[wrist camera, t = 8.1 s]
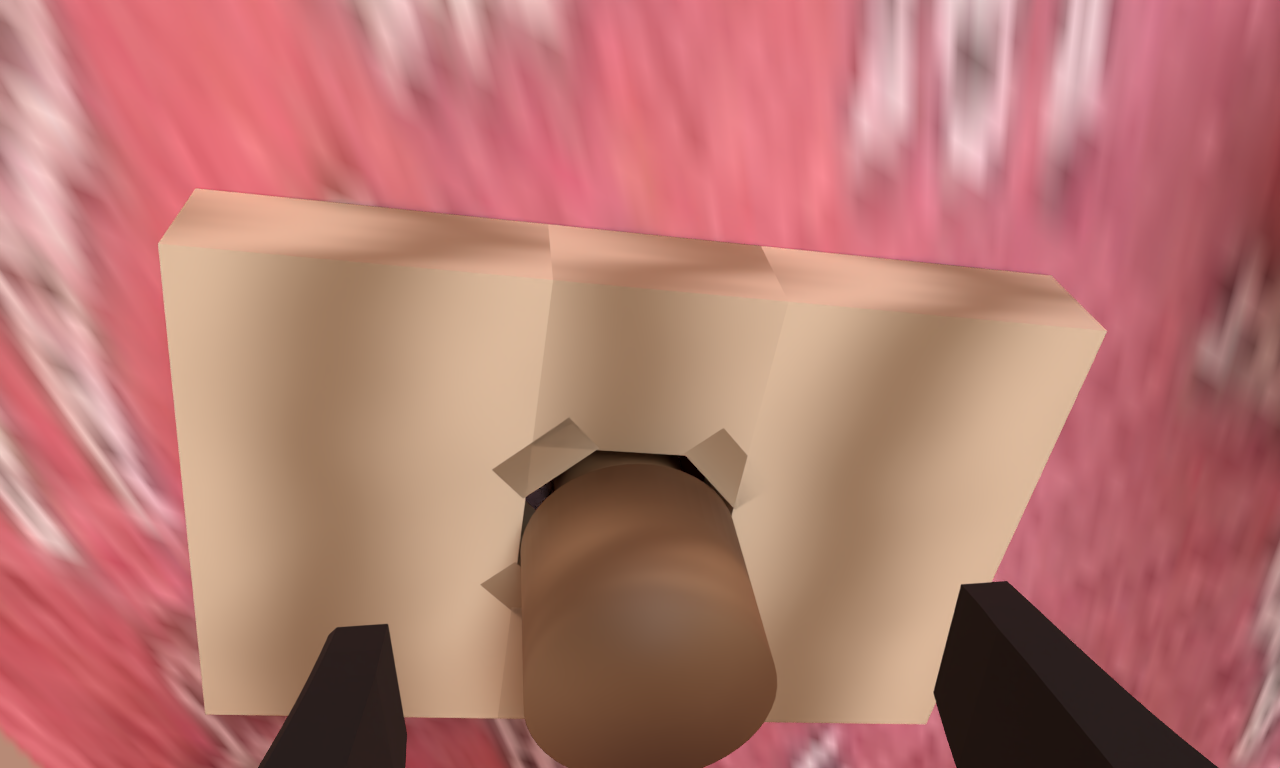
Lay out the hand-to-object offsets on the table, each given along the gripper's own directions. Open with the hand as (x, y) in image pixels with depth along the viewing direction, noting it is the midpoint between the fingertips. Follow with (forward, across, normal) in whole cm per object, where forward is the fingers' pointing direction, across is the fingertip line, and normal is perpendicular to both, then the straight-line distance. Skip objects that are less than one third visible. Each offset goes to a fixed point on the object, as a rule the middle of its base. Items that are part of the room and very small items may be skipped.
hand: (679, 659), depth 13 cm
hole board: (+10, 0, +5) cm, 11 cm away
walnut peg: (+10, 0, +5) cm, 11 cm away
